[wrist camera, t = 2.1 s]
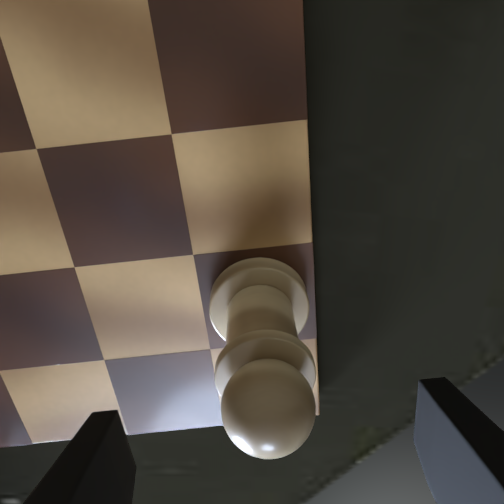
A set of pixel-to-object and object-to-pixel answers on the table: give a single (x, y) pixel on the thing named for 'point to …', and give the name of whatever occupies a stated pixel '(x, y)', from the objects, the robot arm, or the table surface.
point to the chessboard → (140, 200)
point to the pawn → (263, 357)
